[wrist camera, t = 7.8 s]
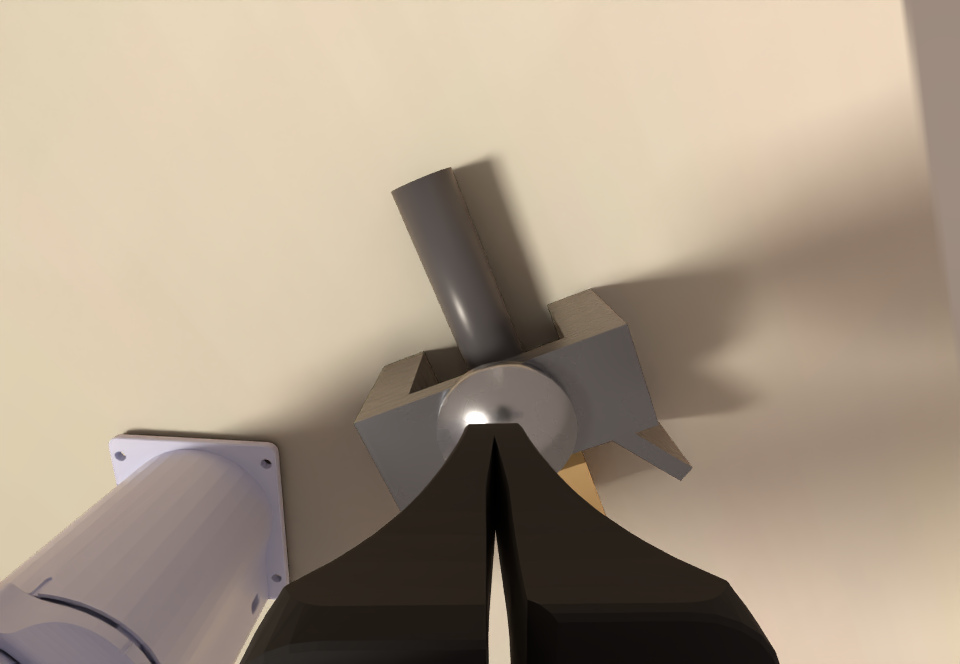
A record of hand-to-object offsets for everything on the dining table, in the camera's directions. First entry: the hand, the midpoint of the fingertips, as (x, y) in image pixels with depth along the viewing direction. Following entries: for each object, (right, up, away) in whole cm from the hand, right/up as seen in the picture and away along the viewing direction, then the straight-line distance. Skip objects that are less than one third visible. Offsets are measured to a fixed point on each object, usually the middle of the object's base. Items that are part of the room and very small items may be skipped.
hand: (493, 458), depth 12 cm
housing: (+1, 0, +10) cm, 10 cm away
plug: (0, +2, +10) cm, 10 cm away
